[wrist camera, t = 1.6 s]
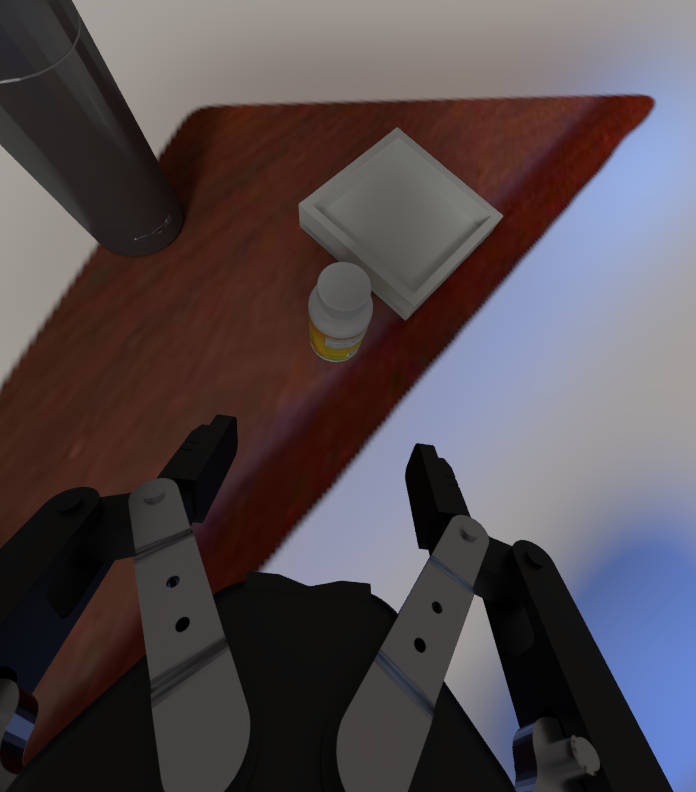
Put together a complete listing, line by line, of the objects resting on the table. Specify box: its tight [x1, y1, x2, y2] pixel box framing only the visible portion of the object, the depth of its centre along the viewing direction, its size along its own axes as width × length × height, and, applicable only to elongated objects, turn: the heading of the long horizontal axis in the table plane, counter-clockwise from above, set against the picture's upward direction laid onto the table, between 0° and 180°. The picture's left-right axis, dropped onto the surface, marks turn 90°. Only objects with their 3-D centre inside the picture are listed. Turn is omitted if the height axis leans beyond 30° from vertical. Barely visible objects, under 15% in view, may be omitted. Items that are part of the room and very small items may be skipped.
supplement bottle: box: [308, 262, 373, 362], centre depth 26 cm, size 5×5×10 cm
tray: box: [299, 127, 503, 321], centre depth 33 cm, size 16×16×3 cm
